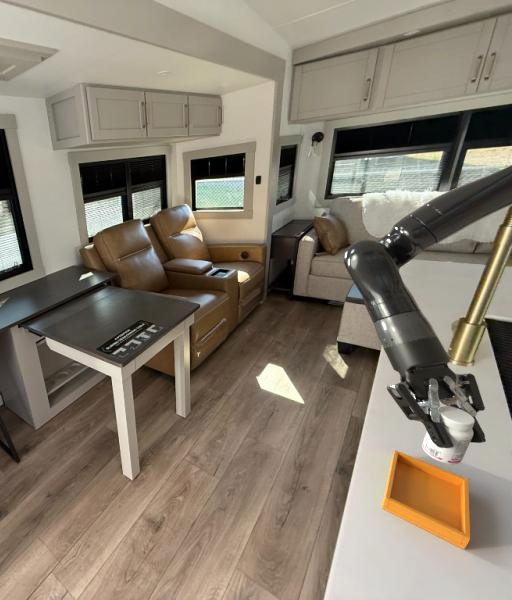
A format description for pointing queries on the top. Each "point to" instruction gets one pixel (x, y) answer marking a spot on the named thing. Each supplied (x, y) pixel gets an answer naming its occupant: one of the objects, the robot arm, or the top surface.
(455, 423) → the pill bottle
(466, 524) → the amber tray
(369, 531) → the top surface
